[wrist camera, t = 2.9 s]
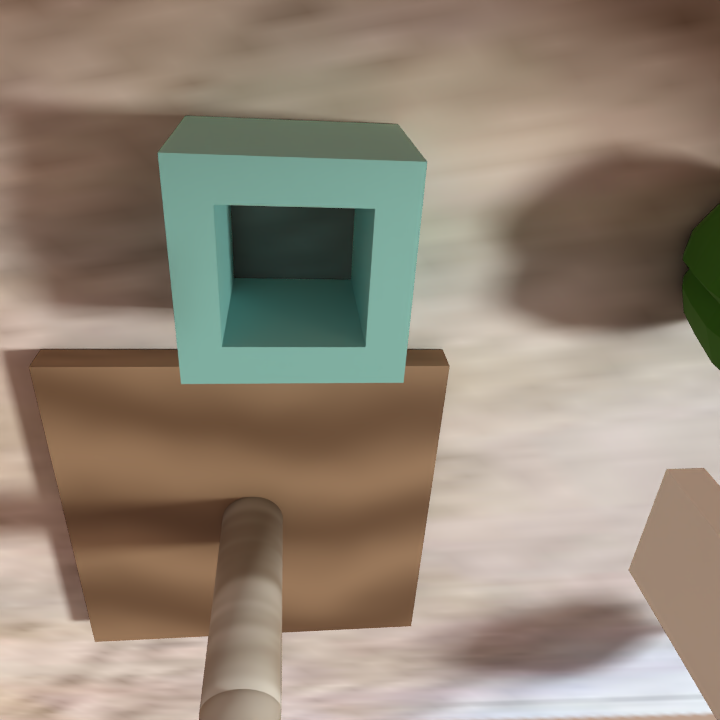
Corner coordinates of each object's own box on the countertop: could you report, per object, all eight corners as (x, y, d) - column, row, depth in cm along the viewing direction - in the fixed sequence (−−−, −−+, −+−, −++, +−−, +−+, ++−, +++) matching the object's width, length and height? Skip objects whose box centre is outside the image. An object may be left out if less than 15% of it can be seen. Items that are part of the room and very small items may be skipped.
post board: (40, 349, 28) (-122, 592, 17) (442, 349, 30) (534, 566, 19) (101, 618, 37) (22, 892, 26) (406, 604, 39) (454, 852, 28)
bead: (185, 115, 24) (157, 152, 19) (398, 124, 25) (427, 161, 19) (200, 309, 28) (181, 383, 23) (382, 310, 29) (403, 382, 24)
